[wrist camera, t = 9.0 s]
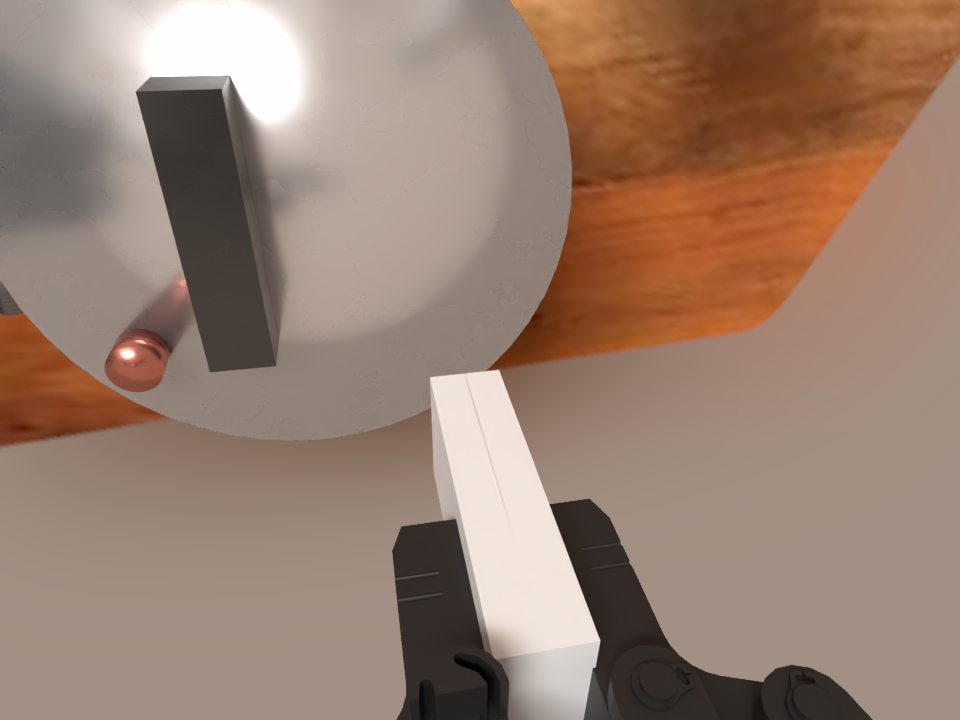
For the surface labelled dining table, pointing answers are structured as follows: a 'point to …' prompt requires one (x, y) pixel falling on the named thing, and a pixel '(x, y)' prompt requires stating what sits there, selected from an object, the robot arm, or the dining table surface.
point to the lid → (278, 200)
